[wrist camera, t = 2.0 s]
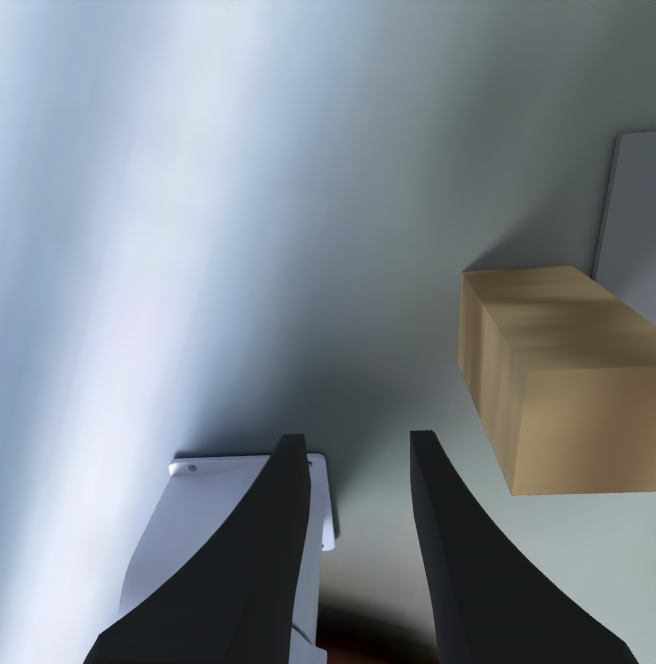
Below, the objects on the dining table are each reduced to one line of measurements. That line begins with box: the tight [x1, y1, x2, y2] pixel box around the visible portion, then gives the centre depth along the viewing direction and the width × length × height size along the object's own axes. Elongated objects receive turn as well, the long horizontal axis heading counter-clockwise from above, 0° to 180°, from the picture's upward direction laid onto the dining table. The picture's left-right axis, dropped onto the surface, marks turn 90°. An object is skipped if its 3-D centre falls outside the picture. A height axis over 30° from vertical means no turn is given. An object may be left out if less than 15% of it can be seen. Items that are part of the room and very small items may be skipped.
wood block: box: [458, 265, 656, 496], centre depth 18 cm, size 5×5×9 cm
